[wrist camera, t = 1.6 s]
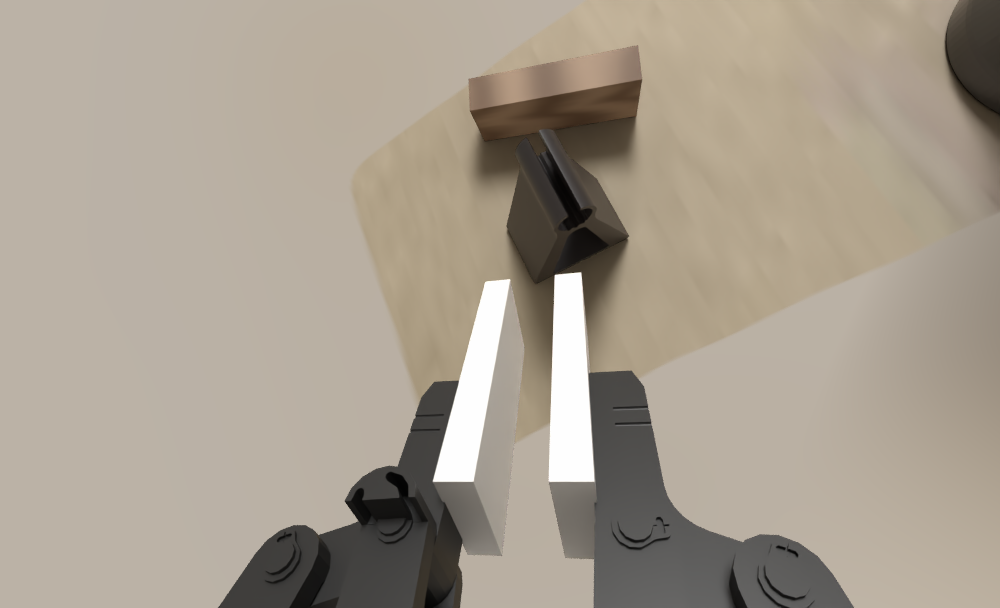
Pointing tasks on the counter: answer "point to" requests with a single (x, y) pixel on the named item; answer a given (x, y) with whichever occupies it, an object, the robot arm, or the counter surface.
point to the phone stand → (558, 210)
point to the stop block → (557, 94)
